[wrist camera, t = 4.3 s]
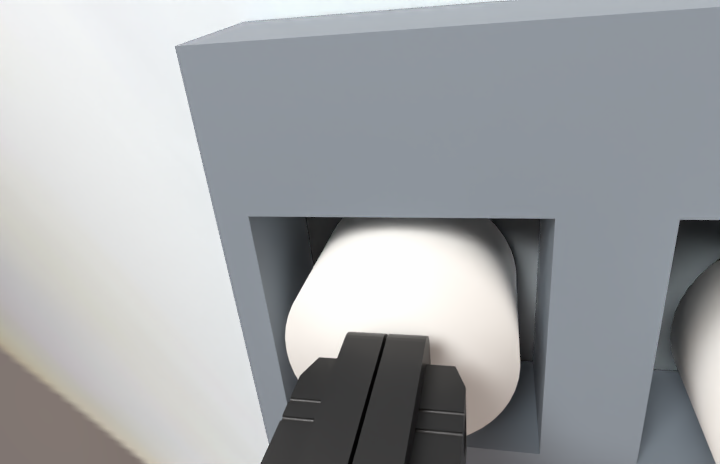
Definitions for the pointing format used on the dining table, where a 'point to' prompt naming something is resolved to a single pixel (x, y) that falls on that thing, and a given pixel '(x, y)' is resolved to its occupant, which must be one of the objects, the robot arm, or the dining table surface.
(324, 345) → the button
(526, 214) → the button board
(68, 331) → the dining table surface
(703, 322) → the middle button
